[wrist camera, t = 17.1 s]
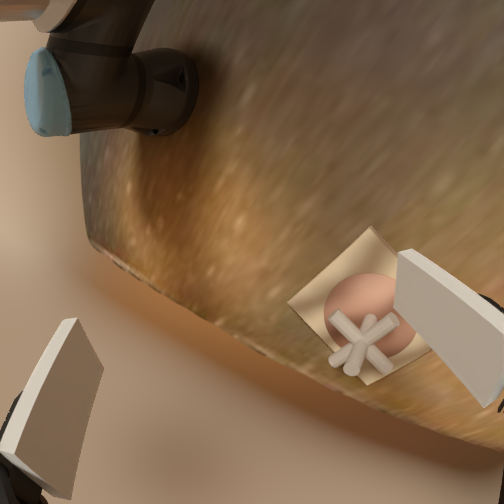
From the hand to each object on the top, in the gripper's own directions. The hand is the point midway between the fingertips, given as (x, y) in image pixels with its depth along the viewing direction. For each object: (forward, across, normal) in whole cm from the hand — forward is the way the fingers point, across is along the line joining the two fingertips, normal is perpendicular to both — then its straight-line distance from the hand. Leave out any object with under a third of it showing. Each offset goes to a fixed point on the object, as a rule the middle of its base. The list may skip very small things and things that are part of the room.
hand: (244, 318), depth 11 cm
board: (+20, +17, -18) cm, 31 cm away
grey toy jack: (+18, +16, -18) cm, 30 cm away
